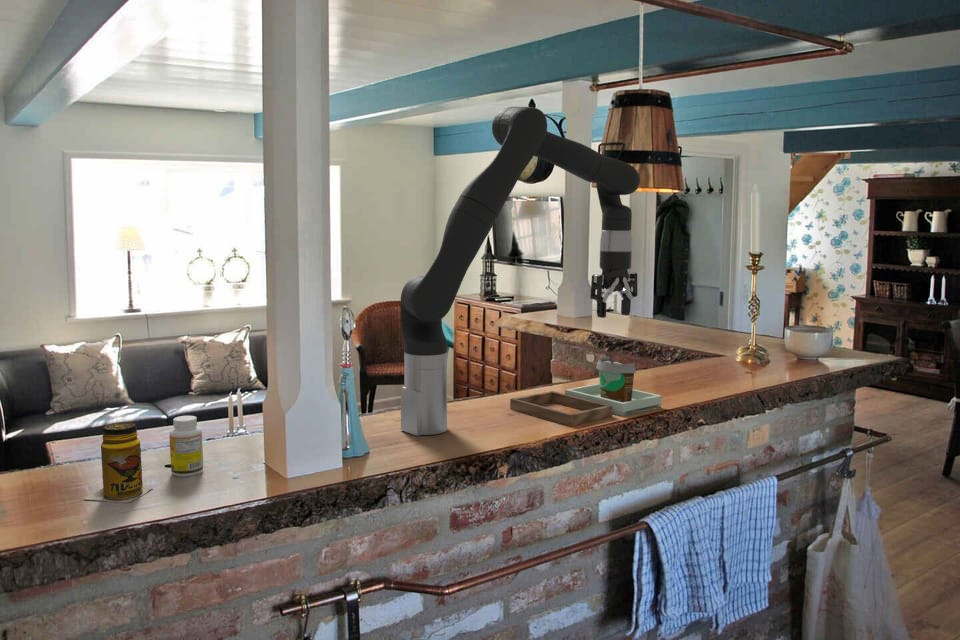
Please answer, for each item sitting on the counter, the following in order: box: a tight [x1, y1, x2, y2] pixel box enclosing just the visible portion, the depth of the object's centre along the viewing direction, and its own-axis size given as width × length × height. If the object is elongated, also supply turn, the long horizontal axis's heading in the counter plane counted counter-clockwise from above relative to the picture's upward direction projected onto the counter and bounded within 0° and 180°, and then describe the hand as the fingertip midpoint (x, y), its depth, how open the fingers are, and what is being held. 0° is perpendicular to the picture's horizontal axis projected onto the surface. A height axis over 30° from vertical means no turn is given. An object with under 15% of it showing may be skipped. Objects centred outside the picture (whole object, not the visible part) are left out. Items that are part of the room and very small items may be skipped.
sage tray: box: [564, 382, 662, 417], centre depth 205 cm, size 14×19×3 cm
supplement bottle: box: [169, 415, 204, 478], centre depth 150 cm, size 6×6×10 cm
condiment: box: [83, 421, 155, 504], centre depth 139 cm, size 7×8×12 cm
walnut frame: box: [509, 390, 613, 427], centre depth 196 cm, size 14×20×2 cm
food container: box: [595, 356, 637, 402], centre depth 204 cm, size 12×6×10 cm, turn 23°
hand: (613, 316), depth 202 cm, fingers open, 8 cm apart
